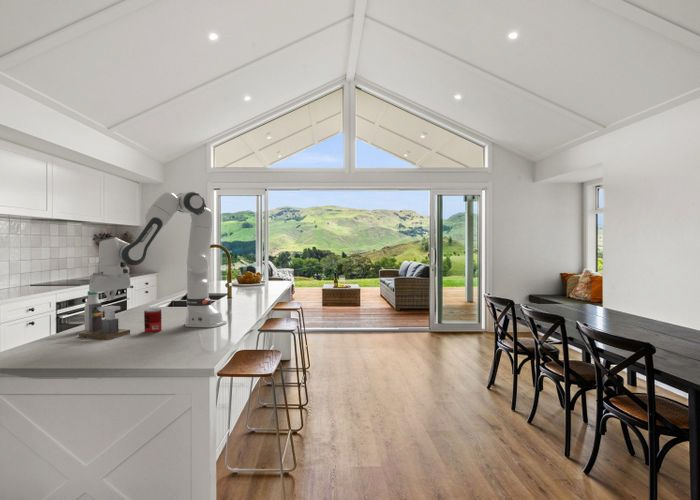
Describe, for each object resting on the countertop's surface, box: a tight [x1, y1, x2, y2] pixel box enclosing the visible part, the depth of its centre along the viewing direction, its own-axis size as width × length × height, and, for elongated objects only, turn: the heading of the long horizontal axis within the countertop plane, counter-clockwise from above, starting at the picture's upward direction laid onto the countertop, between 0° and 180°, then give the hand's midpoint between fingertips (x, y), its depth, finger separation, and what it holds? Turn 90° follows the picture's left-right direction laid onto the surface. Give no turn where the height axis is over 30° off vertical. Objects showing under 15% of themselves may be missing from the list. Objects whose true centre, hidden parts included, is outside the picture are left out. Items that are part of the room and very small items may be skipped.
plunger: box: [96, 305, 121, 320], centre depth 206 cm, size 11×6×8 cm, turn 70°
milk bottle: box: [83, 291, 103, 331], centre depth 218 cm, size 8×8×20 cm
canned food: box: [143, 307, 162, 334], centre depth 215 cm, size 8×8×11 cm
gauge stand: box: [78, 302, 131, 341], centre depth 206 cm, size 18×13×15 cm
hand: (110, 299), depth 205 cm, fingers closed
